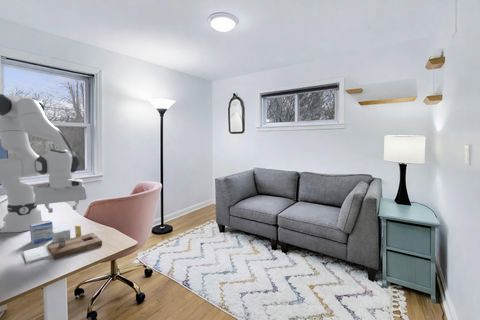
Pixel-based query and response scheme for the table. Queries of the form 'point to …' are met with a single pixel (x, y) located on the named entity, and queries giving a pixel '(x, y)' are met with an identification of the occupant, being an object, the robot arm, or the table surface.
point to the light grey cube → (60, 233)
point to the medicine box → (41, 231)
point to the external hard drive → (36, 254)
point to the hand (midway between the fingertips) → (63, 210)
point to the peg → (78, 230)
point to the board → (73, 245)
